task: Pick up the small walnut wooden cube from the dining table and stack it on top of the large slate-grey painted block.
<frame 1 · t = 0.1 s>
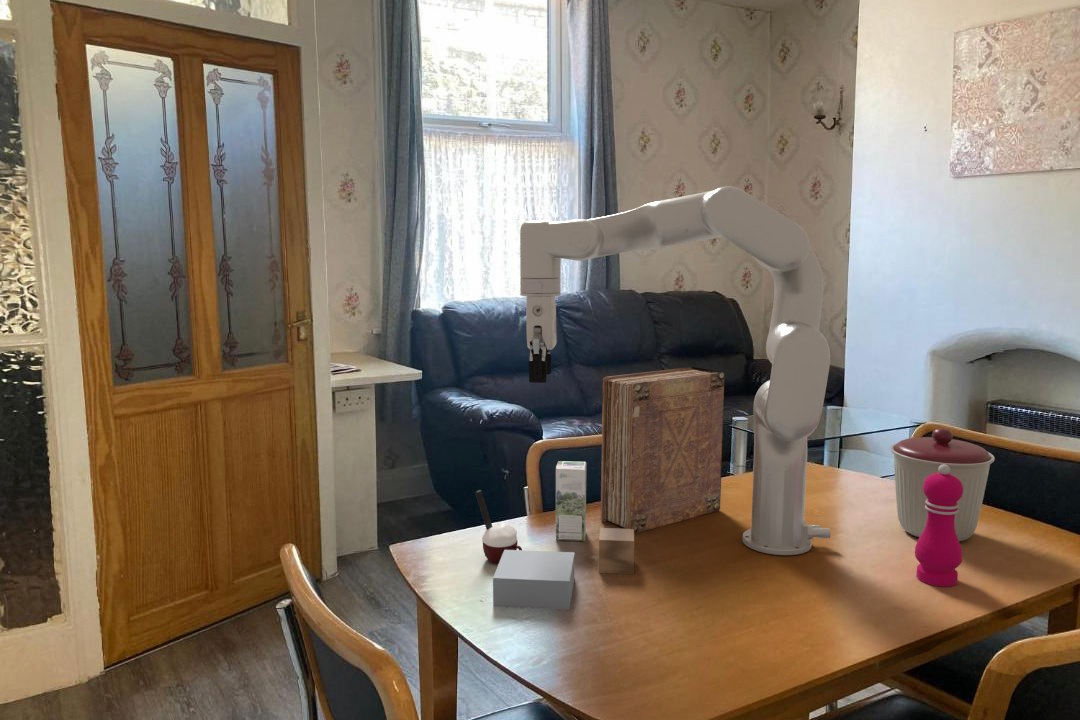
hand: (540, 378, 154), 31 cm above the table, tool pointing down, fingers open, 9 cm apart
grey block: (535, 593, 133), on the table
walnut cube: (616, 566, 144), on the table
canister: (935, 534, 160), on the table
book: (661, 517, 170), on the table
cocoa: (499, 560, 147), on the table
syrup box: (571, 537, 158), on the table
pepper mill: (936, 580, 138), on the table
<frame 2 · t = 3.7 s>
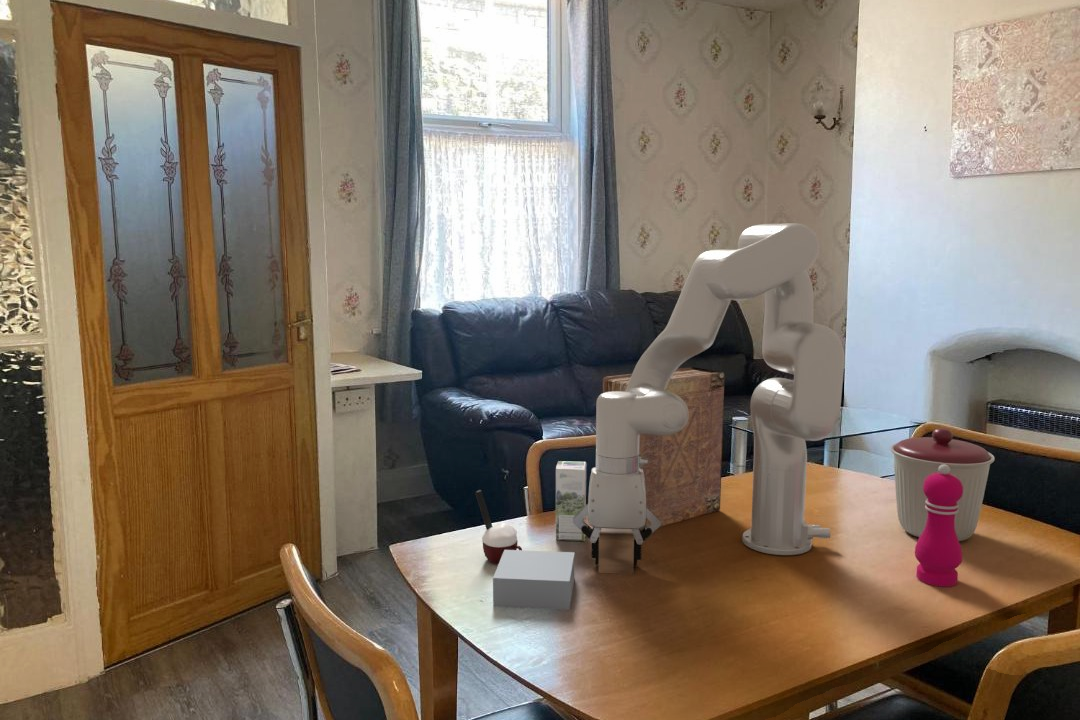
hand: (616, 561, 143), 1 cm above the table, tool pointing down, fingers closed on walnut cube, 6 cm apart
walnut cube: (616, 566, 144), on the table, touching gripper
everything else where it was.
when the fingers open (7 cm above the table, at t = 11.5 s): walnut cube drops 2 cm, resting on grey block.
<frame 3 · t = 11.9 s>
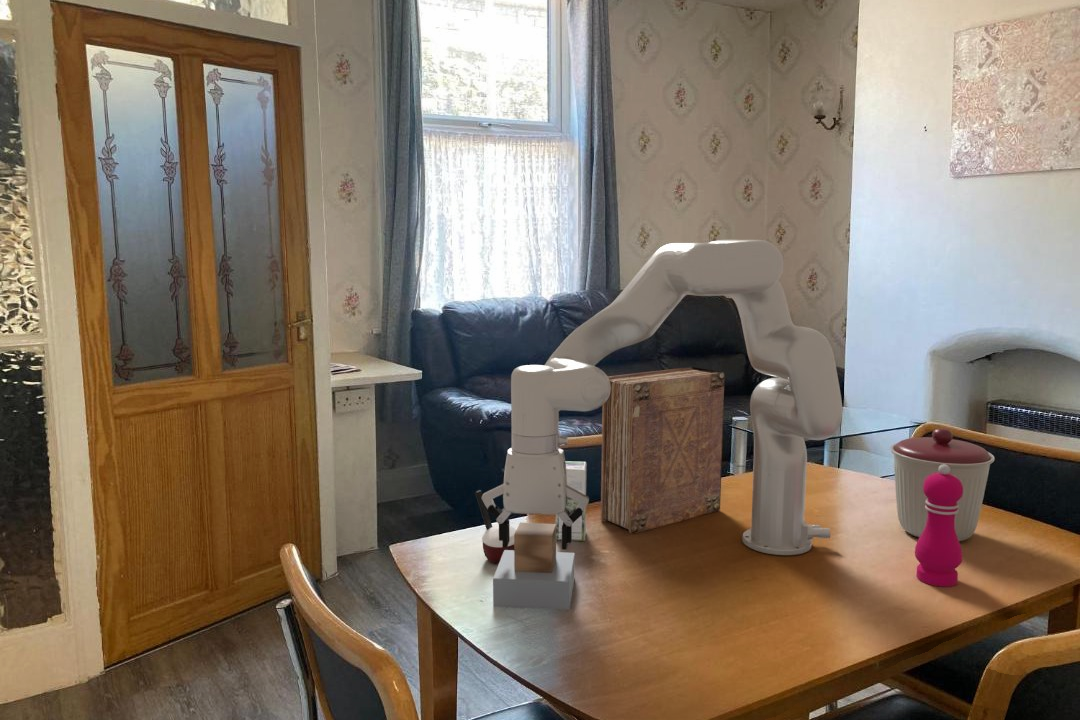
hand: (535, 545, 132), 8 cm above the table, tool pointing down, fingers open, 9 cm apart
grey block: (535, 594, 133), on the table, touching walnut cube
walnut cube: (535, 564, 133), point 5 cm above the table, touching grey block
everything else where it was.
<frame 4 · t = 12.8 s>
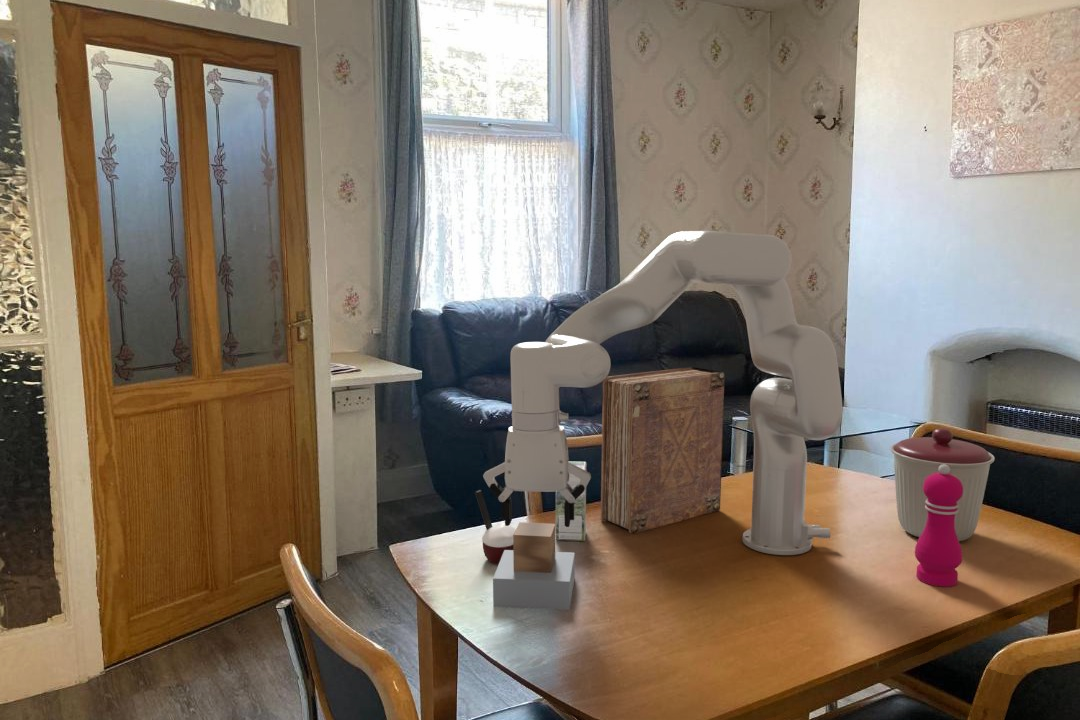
hand: (538, 523, 132), 12 cm above the table, tool pointing down, fingers open, 9 cm apart
nothing on the table moved.
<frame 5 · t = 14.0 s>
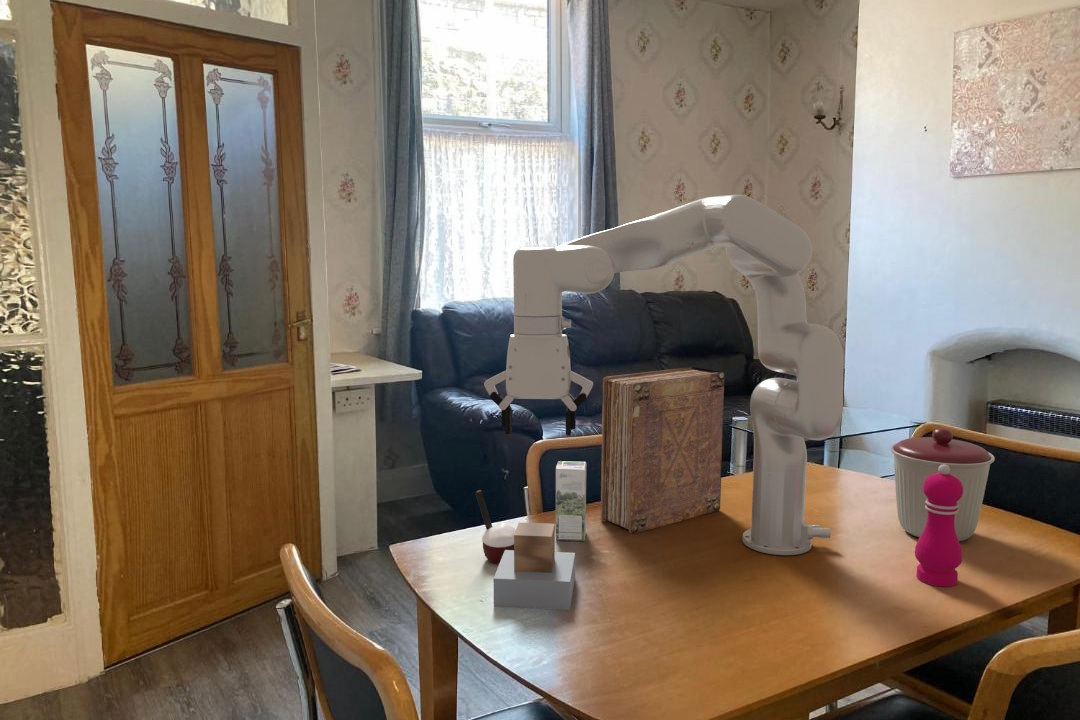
hand: (538, 433, 130), 26 cm above the table, tool pointing down, fingers open, 9 cm apart
nothing on the table moved.
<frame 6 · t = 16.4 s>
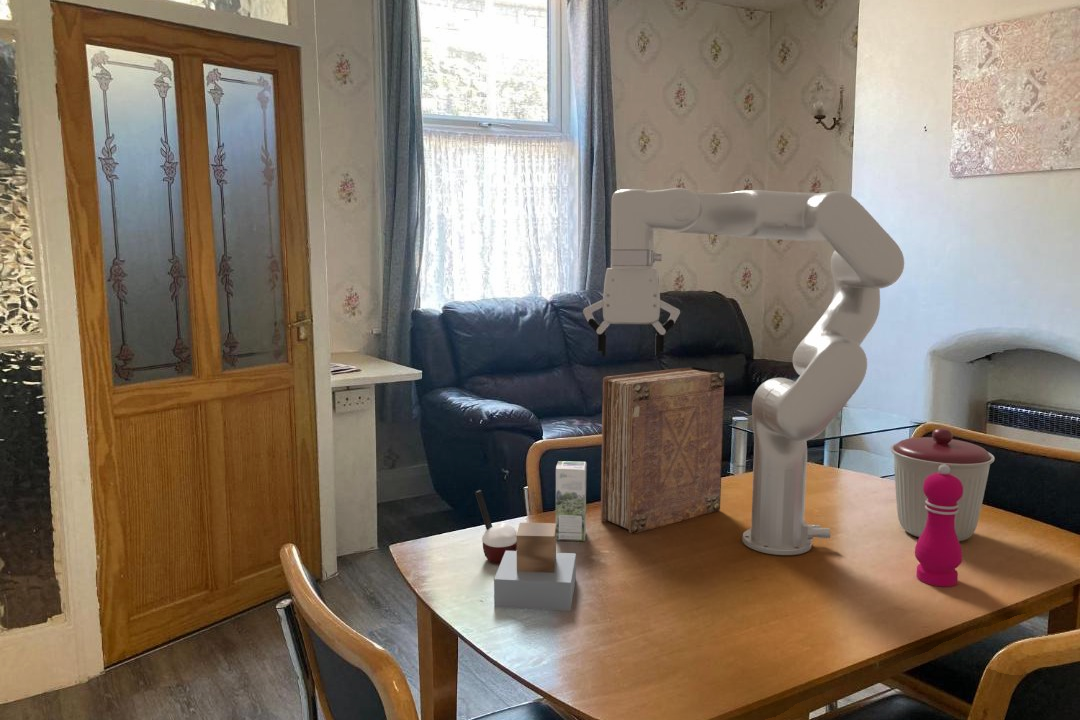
hand: (630, 355, 147), 36 cm above the table, tool pointing down, fingers open, 9 cm apart
grey block: (536, 595, 133), on the table
walnut cube: (536, 564, 133), point 5 cm above the table
everything else where it was.
at the end: walnut cube inside the target area on the grey block (0.5 cm from its centre), point 5.0 cm above the grey block's base; walnut cube tilted 0°; the gripper is holding nothing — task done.
